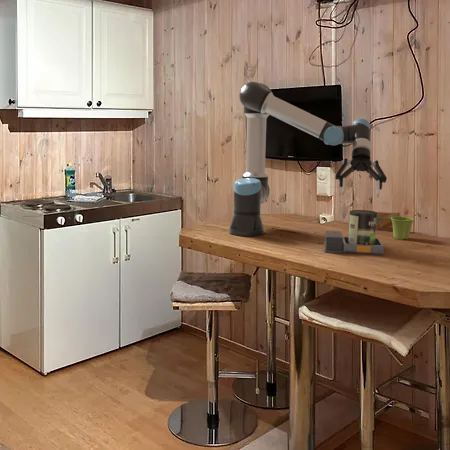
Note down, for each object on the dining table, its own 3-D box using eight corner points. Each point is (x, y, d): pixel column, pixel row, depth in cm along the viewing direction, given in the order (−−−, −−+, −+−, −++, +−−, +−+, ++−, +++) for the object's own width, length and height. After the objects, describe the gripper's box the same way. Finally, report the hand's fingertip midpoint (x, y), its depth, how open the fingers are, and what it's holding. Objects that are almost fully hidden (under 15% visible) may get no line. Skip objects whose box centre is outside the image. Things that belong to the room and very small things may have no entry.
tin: (368, 229, 270) (369, 211, 269) (369, 228, 273) (370, 210, 272) (402, 232, 265) (403, 213, 263) (402, 231, 268) (404, 212, 266)
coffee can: (379, 247, 226) (381, 211, 224) (368, 252, 218) (370, 214, 216) (354, 244, 232) (356, 208, 230) (343, 248, 224) (344, 211, 222)
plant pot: (409, 241, 244) (410, 221, 242) (386, 238, 248) (388, 218, 247) (415, 238, 251) (416, 218, 250) (393, 235, 256) (394, 215, 255)
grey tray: (324, 252, 220) (325, 237, 219) (323, 244, 234) (324, 230, 233) (383, 255, 217) (384, 239, 216) (378, 247, 231) (379, 232, 230)
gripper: (390, 159, 245) (390, 201, 235) (329, 155, 248) (328, 197, 238) (393, 148, 239) (394, 191, 228) (331, 144, 242) (329, 186, 231)
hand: (360, 194), depth 233 cm, fingers open, 13 cm apart
